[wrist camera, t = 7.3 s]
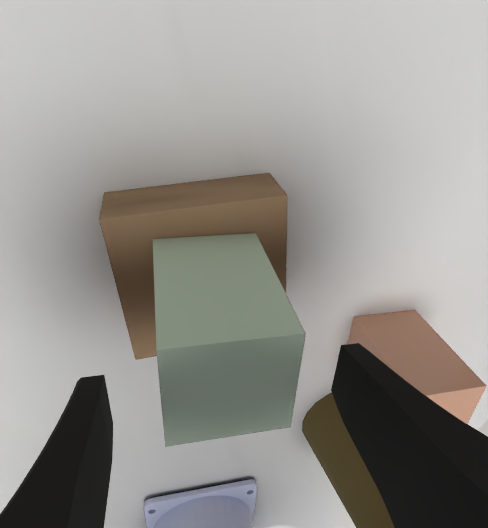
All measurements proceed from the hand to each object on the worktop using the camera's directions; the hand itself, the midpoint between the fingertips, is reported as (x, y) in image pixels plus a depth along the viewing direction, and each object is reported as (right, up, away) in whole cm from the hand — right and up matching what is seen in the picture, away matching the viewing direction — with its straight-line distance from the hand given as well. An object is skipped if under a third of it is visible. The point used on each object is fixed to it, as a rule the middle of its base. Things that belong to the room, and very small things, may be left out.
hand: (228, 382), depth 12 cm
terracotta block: (+9, -1, +13) cm, 15 cm away
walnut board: (-2, +4, +7) cm, 8 cm away
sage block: (-1, +3, +4) cm, 5 cm away
